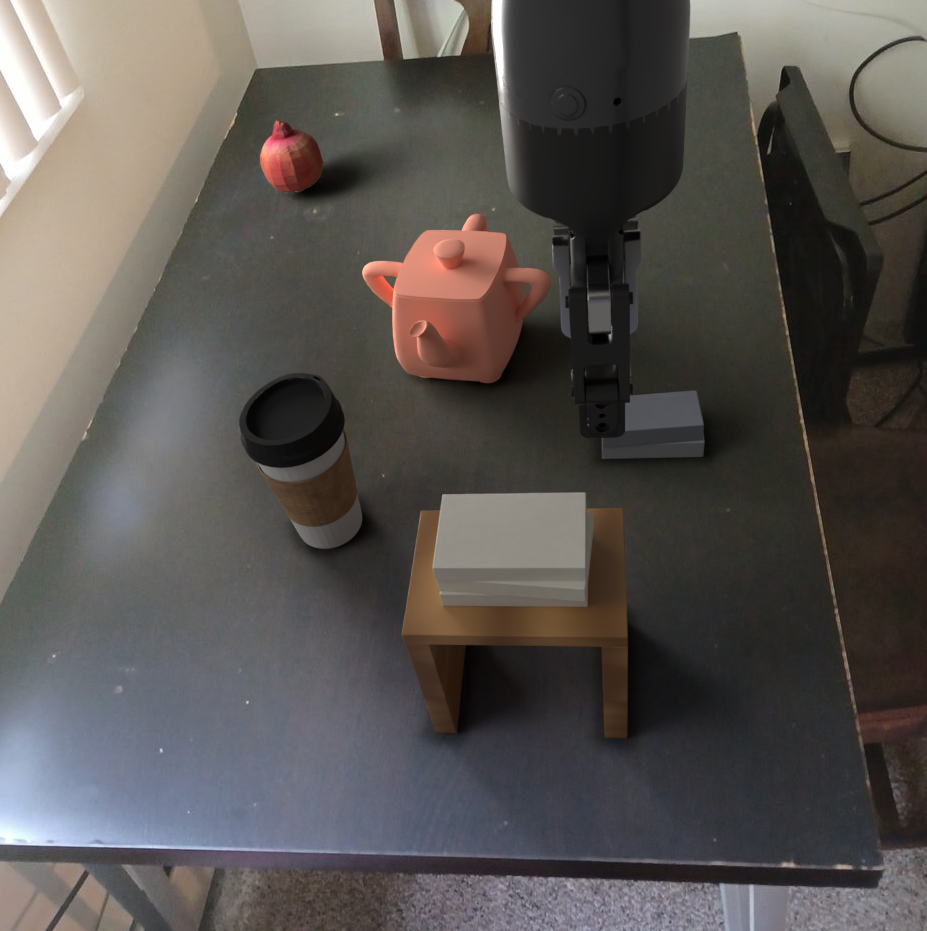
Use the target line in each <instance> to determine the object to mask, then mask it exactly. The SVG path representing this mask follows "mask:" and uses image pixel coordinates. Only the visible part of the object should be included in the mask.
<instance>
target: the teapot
mask: <svg viewBox="0 0 927 931" xmlns="http://www.w3.org/2000/svg"><path fill="white" fill-rule="evenodd" d="M487 222H488V221H487V219H486V216H484V215H483V214H481V213H473V214H471V215H470V216H469V217H467V219H466V221H465V222H464V225H463V227H462V229H459V230H458V229H426V230H425V231H423V232H422V233H421V234H419V236H418V238H417V239H416V240H415V242H413V244H412V246H411V248H410V250H409V251H408V252H407V254H406V256H405V258H404V260H403V262H400V261H399V262H398V261H391V260H390V261H388V260H376V261H371V262H368V263H367V264H366V265H364V267H363V269H362V271H361V272H362V279H363V280H364V282H365V283H366V285H367V286H368V288H369V289H370V290H371V291H372V292H373V294H375V295H376V296H377V297H378V298H379V299H381V300H382V301H383V302H384V303H385V304H387V306H389V307H390V308H391V309H392V316H391V317H392V337H393V338H392V339H393V346H394V352H395V356H396V359H397V361H398V363H399V364H400V366H401V367H402V369H403V370H404V371H405V372H406V373H407V375H412V376H416V377H421V378H422V379H423V378H424V379H431V378H432V379H442V380H450V381H451V380H453V381H467V382H469V381H470V382H480V383H483V384H493V383H495V382H497V381H498V380H499V379H500V378H501V377H502V375H503V372H504V370H506V367H507V365H508V363H509V361H510V359H511V357H512V356H513V353H514V351H515V349H516V346H517V344H518V341H519V339H520V338H519V337H520V336H521V331H522V327H523V322H524V318H526V316H529V314H530V313H532V312H533V311H534V310H535V309H536V308H537V307H538V306H539V305H540V304H541V303H542V302H543V301H544V300H545V299H546V297H547V295H548V294H549V292H550V289H551V286H552V279H551V276H550V275H549V274H548V273H547V272H546V271H544V270H543V269H539V268H533V267H532V268H531V267H520V265H519V262H518V258H517V256H516V253H515V251H514V248H513V246H512V243H511V241H510V239H509V236H508V234H506V233H504V232H497V231H495V232H494V231H488V223H487ZM385 276H386V277H387V276H388V277H396V279H395V283H394V285H393V287H392V286H391V285H390V283H389V282H388V281H387V279H385ZM524 284H526V285H529V287H530V289H529V292H528V294H527V295H526V291H525V286H524Z"/></svg>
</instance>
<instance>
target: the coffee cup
mask: <svg viewBox="0 0 927 931" xmlns="http://www.w3.org/2000/svg"><path fill="white" fill-rule="evenodd" d="M238 422H239V423H238V426H239V431H240V442H241V444H242V447H243V449H244V451H245V453H246V454H247V456H248V458H250V459H252V460H253V461H254V462H255V464H256V466H257V469H258V471H259V472H260V474H261V476H262V477H263V479H264V480H265V482H266V483H267V485H268V486H269V489H270V490H271V491H272V493H273V494H274V496H275V498H276V499H277V501H278V503H279V504H280V506H281V507H282V509H283V511H284V512H285V514H286V515H287V517H288V518H289V520H290V521H291V523H292V525H293V526H294V528H295V530H296V532H297V533H298V535H299V537H300V538H301V539H302V541H303V542H304V543H305V544H306V545H308V546H310V547H312V548H316V549H321V550H328V549H329V550H330V549H334V548H338V547H341V546H343V545H344V544H346V543H348V542H350V541H351V540H352V539H353V538H354V537H355V536H356V535H357V533H358V532H359V530H360V529H361V526H362V523H363V513H362V508H361V502H360V499H359V495H358V489H357V488H358V487H357V483H356V478H355V472H354V468H353V467H354V466H353V462H352V458H351V452H350V447H349V442H348V436H347V433H346V431H345V423H346V419H345V412H344V410H343V407H342V405H341V403H340V401H339V400H338V398H337V397H336V396H335V394H334V393H333V390H332V389H331V387H330V386H329V384H328V383H327V381H326V380H325V379H324V378H323V377H322V376H320V375H318V374H313V373H307V372H293V373H287V374H283V375H280V376H278V377H277V378H274V379H272V380H270V381H269V382H268V383H266V384H264V385H263V386H261V387H260V388H259V389H258V390H257V391H255V392H254V394H253V395H251V396H250V398H249V399H248V400H247V401H246V402H245V404H244V406H243V408H242V410H241V412H240V414H239V419H238Z"/></svg>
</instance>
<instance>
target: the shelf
mask: <svg viewBox="0 0 927 931" xmlns="http://www.w3.org/2000/svg"><path fill="white" fill-rule="evenodd" d="M419 513H420V514H419V520H418V527H417V533H416V540H415V546H414V552H413V558H412V559H413V560H412V565H411V573H410V578H409V585H408V592H407V597H406V598H407V599H406V604H405V605H406V606H405V612H404V617H403V624H402V631H401V637H402V639H403V642H404V645H405V647H406V651H407V653H408V656H409V660H410V663H411V665H412V668H413V671H414V674H415V676H416V679H417V682H418V685H419V688H420V690H421V694H422V696H423V699H424V703H425V705H426V708H427V711H428V714H429V717H430V720H431V722H432V725H433V728H434V731H435V733H437V734H458V725H459V716H460V706H461V697H462V696H461V695H462V686H463V676H464V666H465V656H466V647H467V646H513V647H515V646H520V647H521V646H524V647H526V646H528V647H530V646H531V647H533V646H534V647H597V648H598V647H599V648H600V647H601V668H602V696H603V698H602V699H603V724H604V725H603V726H604V727H603V728H604V738H606V739H628V710H629V709H628V706H629V704H628V702H629V701H628V696H629V694H628V693H629V692H628V690H629V689H628V688H629V687H628V686H629V681H628V680H629V660H628V659H629V653H628V652H629V627H628V626H629V625H628V601H627V600H628V598H627V594H628V593H627V568H626V567H627V566H626V539H625V538H626V537H625V536H626V535H625V509H624V508H622V507H619V508H618V507H613V508H611V507H609V508H608V507H606V508H604V507H603V508H587V510H586V513H588V514H593V519H594V530H593V539H592V549H591V558H590V568H589V577H588V606H587V607H522V606H443V605H442V601H441V598H440V590H439V587H438V583H437V581H436V579H435V575H434V572H433V560H434V553H435V546H436V538H437V531H438V524H439V516H440V509H438V510H437V509H436V510H421V511H420V512H419Z"/></svg>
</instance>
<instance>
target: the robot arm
mask: <svg viewBox="0 0 927 931" xmlns="http://www.w3.org/2000/svg"><path fill="white" fill-rule="evenodd" d="M490 2H491V4H490V6H491V7H490V26H491V27H490V30H491V42H492V49H493V50H492V53H493V60H494V68H495V70H494V71H495V78H496V86H497V96H498V105H499V106H498V108H499V116H500V124H501V134H502V144H503V153H504V161H505V171H506V172H505V173H506V180H507V184H508V187H509V188H508V189H509V190H510V193H511V194H512V195H513V197H514V198H515V200H516V201H517V202H518V203H519V204H520V206H522V207H524V208H525V209H527V210H528V211H529V212H531V213H533V214H535V215H537V216H540V217H542V218H545V219H550V220H552V229H553V230H552V231H553V234H552V235H551V254H552V268H553V270H554V273H556V274H557V276H558V283H559V284H558V285H559V308H560V312H559V313H560V328H561V329H560V330H561V332H562V334H563V335H564V336H565V337H567V338H569V339H570V348H571V350H570V351H571V367H572V369H570V379H571V381H572V384H573V385H570V398H573V400H574V402H573V403H574V406H578V420H579V422H578V423H579V434H580V436H582V438H585V439H589V440H590V439H593V440H594V439H602V438H616V437H620V436H622V435H623V434H624V433H625V403H630V396H631V395H634V383H633V382H631V378H632V367H631V334H633V333H635V331H636V330H637V329H638V325H639V315H638V314H639V312H638V309H639V308H638V281H637V280H638V278H637V276H638V274H637V272H638V270H639V268H640V267H641V265H642V261H643V247H642V244H643V243H642V230H641V228H639V214H640V213H643V212H646V211H648V210H650V209H651V208H653V207H655V206H657V205H658V204H660V203H661V202H663V201H664V200H665V199H666V198H667V197H668V196H669V195H670V194H671V193H672V192H673V191H674V190H675V188H676V187H677V185H678V183H679V182H680V179H681V177H682V174H683V169H684V159H685V158H684V155H685V139H686V138H685V136H686V119H687V118H686V116H687V96H688V95H687V94H688V92H687V91H688V73H689V71H688V70H689V53H690V37H691V36H690V35H691V33H690V32H691V0H491V1H490Z"/></svg>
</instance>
